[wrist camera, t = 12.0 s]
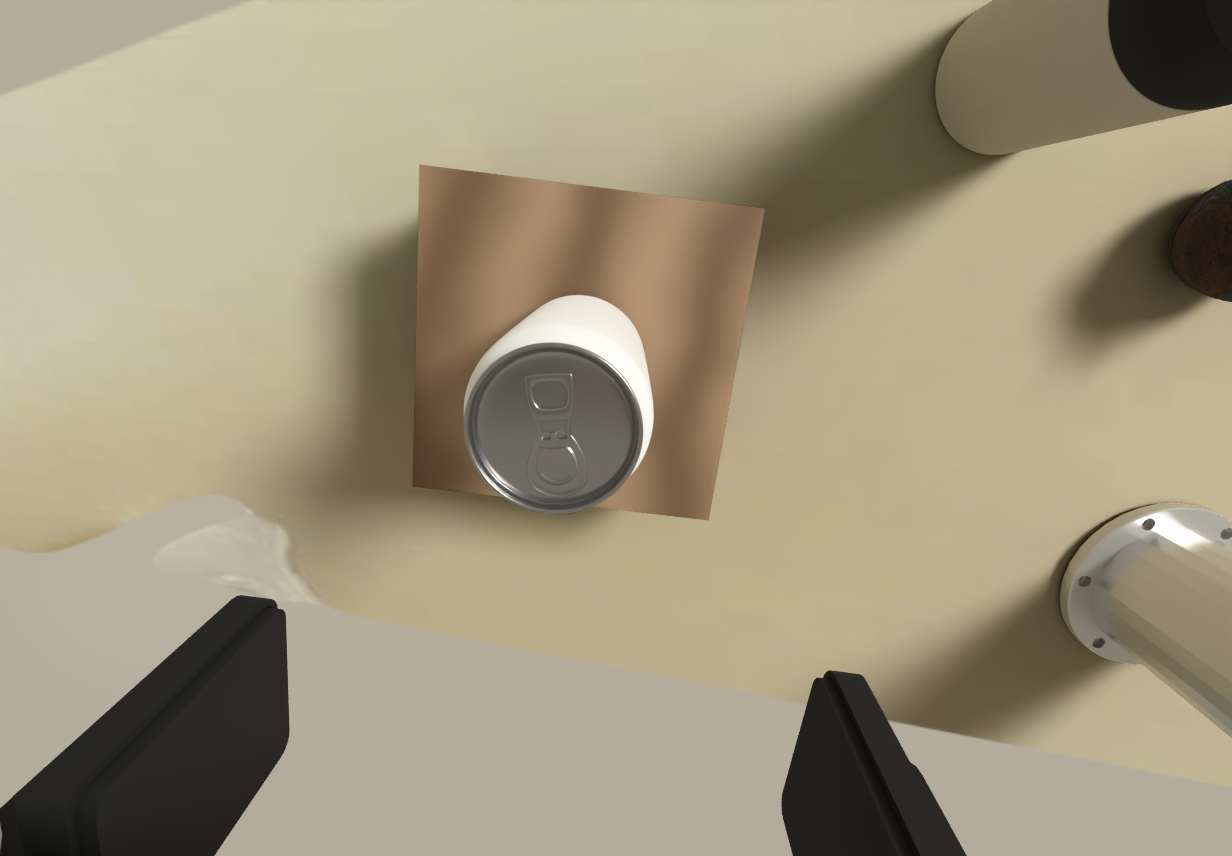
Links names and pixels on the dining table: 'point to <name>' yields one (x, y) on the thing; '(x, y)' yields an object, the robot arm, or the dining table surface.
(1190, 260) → the mate gourd
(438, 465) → the small wooden table
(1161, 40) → the travel mug
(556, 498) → the can
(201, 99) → the dining table surface
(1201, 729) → the dining table surface
